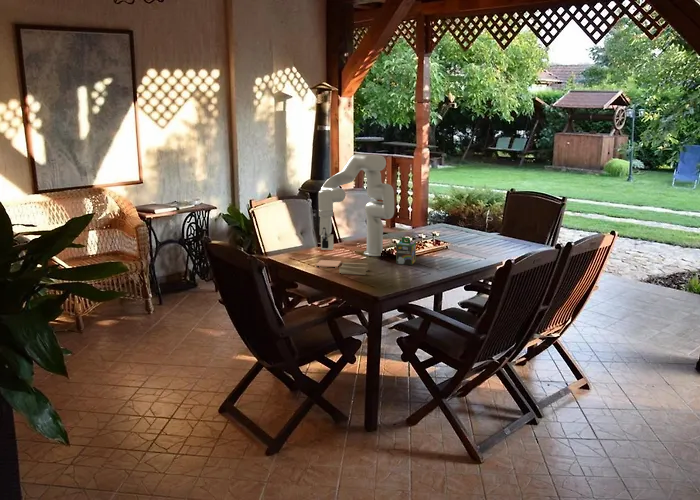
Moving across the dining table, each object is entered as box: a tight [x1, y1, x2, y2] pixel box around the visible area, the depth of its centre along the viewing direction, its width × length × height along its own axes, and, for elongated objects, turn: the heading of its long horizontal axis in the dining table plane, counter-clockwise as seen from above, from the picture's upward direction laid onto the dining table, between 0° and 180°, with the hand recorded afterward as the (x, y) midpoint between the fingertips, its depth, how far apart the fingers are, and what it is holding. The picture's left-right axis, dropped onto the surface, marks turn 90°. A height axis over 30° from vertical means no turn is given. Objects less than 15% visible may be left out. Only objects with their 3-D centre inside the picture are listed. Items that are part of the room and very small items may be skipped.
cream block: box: [320, 233, 335, 251], centre depth 346 cm, size 6×6×7 cm
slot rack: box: [338, 262, 369, 276], centre depth 347 cm, size 10×14×4 cm
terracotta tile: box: [315, 259, 342, 269], centre depth 362 cm, size 12×12×1 cm
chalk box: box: [395, 236, 417, 266], centre depth 365 cm, size 9×9×15 cm
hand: (326, 246), depth 347 cm, fingers closed on cream block, 6 cm apart
